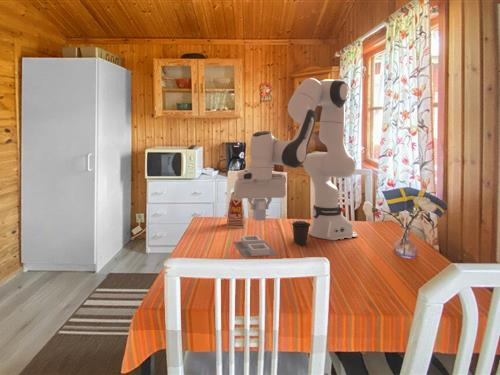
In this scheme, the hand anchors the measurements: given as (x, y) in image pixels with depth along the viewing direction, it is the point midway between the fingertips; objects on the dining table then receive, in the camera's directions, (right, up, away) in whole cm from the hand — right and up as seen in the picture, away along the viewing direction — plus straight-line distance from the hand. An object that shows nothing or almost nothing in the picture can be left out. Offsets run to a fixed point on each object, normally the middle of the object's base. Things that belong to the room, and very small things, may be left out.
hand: (259, 209), depth 157 cm
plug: (0, -4, +1) cm, 4 cm away
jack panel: (-2, -18, +9) cm, 20 cm away
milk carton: (-11, -11, +48) cm, 51 cm away
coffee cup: (+18, -17, +19) cm, 31 cm away
